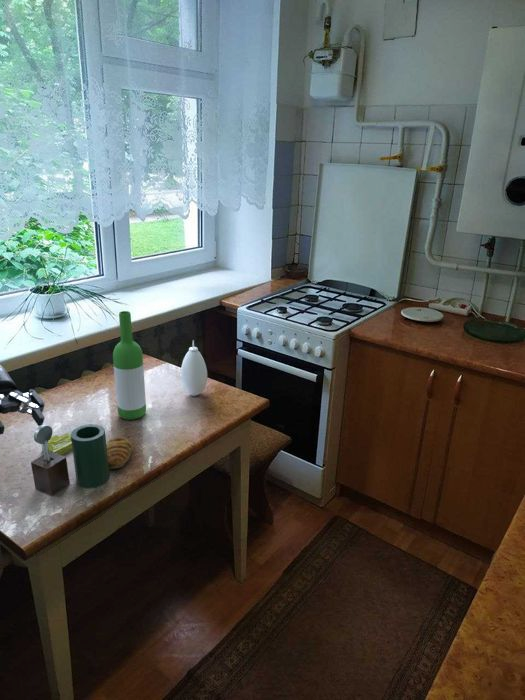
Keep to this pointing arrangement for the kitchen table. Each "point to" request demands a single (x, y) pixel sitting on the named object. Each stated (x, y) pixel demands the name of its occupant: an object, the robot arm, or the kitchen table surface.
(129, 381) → the wine bottle
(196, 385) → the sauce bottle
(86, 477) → the green hollow tube
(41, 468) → the spoon stand
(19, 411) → the robot arm
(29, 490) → the kitchen table surface
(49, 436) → the spoon
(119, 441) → the pastry
